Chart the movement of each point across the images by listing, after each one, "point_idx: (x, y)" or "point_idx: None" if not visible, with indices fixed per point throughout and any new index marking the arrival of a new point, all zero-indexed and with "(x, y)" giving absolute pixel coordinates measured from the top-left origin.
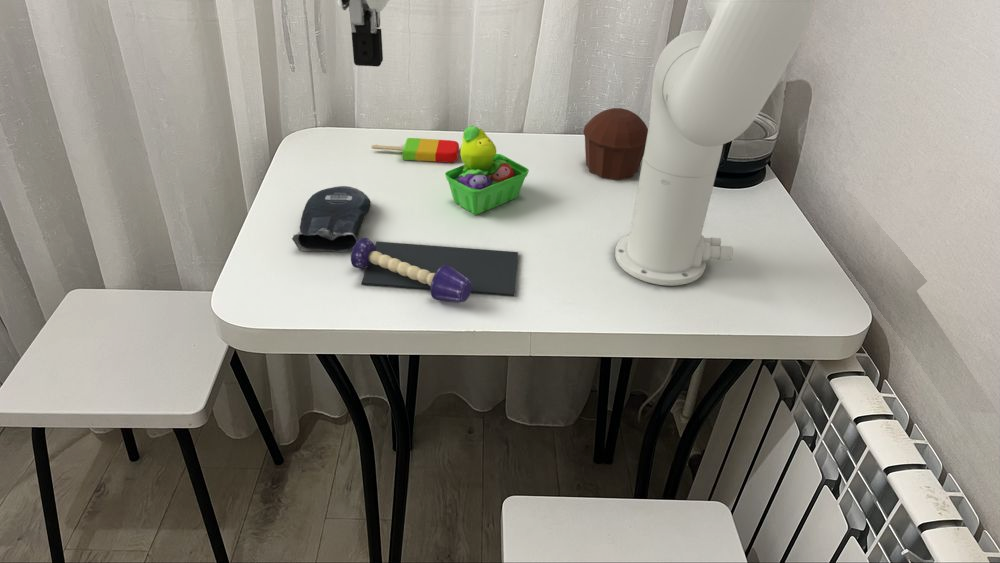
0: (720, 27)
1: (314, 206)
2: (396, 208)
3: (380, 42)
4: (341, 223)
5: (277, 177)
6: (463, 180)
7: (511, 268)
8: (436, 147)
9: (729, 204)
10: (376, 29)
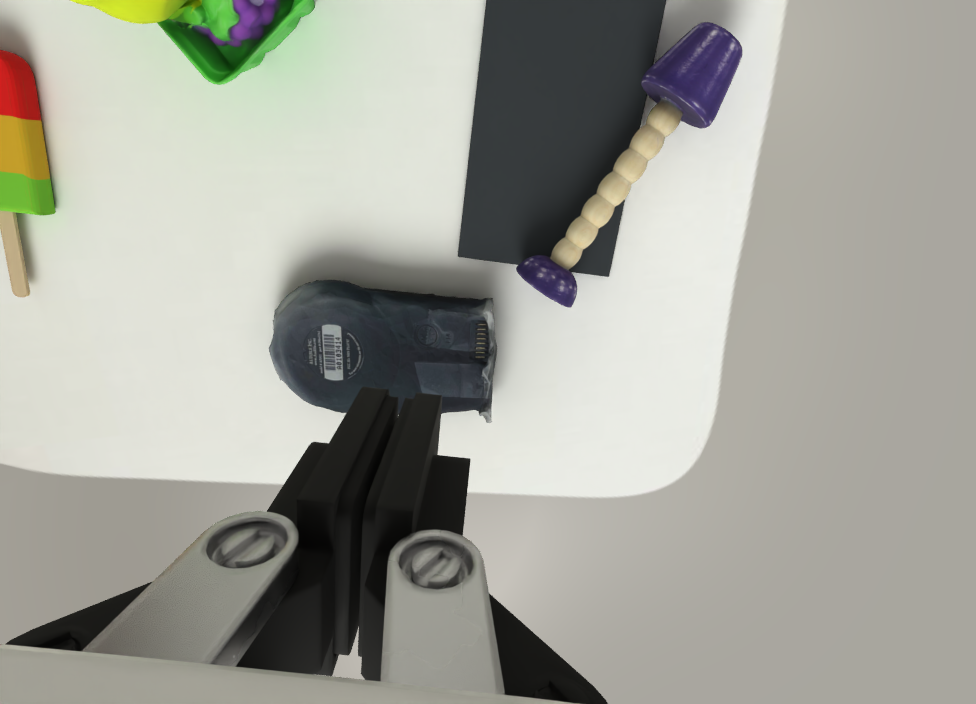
0: None
1: None
2: (304, 218)
3: (362, 452)
4: (443, 337)
5: (209, 474)
6: (252, 24)
7: None
8: None
9: None
10: (407, 546)
